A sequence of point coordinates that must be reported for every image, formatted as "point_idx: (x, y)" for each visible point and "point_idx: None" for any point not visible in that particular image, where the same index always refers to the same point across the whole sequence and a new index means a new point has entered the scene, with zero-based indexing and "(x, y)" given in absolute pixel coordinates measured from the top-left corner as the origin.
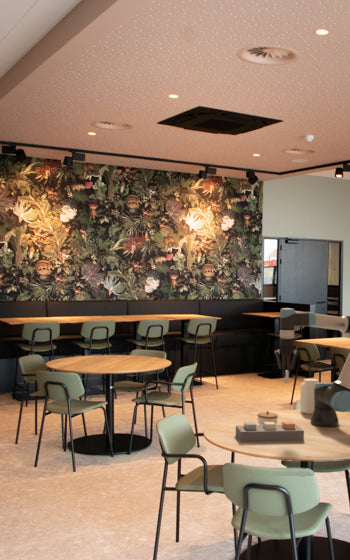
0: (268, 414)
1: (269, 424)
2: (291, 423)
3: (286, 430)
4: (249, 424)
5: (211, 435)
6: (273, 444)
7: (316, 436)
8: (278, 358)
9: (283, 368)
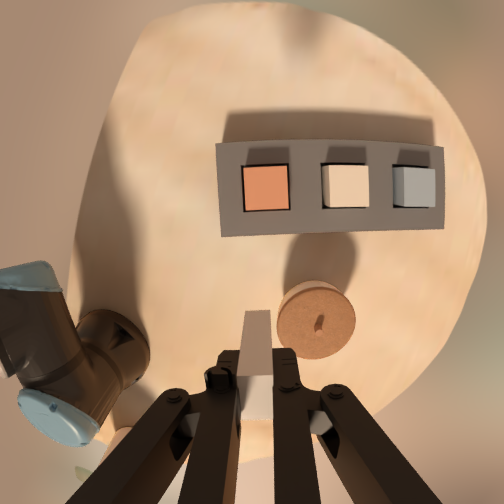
0: (316, 319)
1: (354, 165)
2: (256, 175)
3: (285, 147)
4: (425, 170)
5: (480, 227)
6: (337, 110)
7: (162, 202)
8: (423, 490)
9: (304, 401)
